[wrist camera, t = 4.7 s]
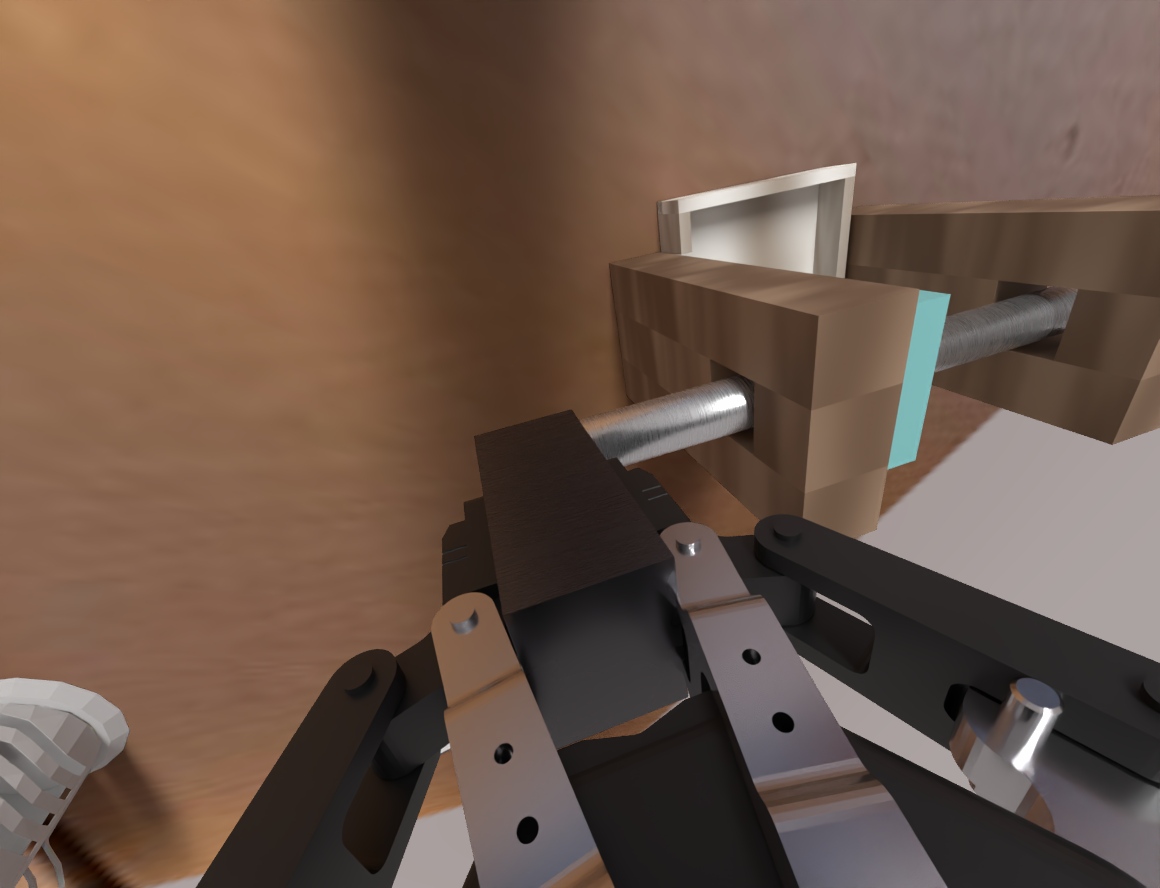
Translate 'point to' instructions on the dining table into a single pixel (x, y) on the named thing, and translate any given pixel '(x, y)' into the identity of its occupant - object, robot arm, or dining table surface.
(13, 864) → the french press
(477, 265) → the dining table surface
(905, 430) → the block
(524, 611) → the shaft
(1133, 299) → the bearing frame
